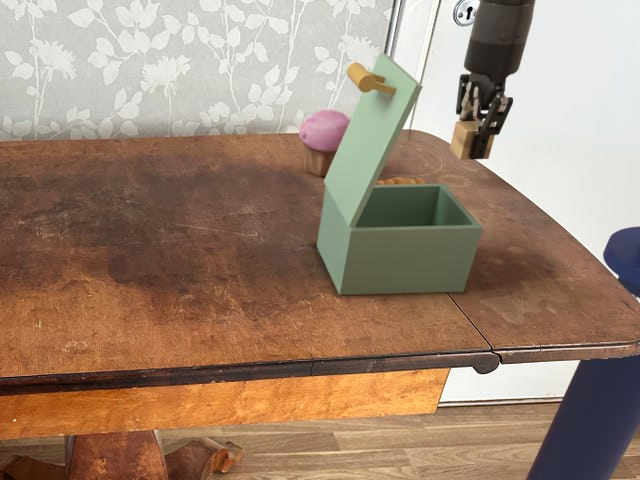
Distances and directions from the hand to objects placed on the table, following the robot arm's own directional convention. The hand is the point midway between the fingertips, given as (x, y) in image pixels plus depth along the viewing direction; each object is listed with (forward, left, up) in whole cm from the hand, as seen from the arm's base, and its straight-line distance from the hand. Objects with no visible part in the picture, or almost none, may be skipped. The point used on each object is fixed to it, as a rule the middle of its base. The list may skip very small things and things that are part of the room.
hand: (469, 151), depth 110 cm
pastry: (+6, +13, -5) cm, 15 cm away
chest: (+1, +33, -5) cm, 33 cm away
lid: (+6, +36, +12) cm, 38 cm away
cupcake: (+20, +8, -5) cm, 23 cm away
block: (0, 0, 0) cm, 0 cm away
